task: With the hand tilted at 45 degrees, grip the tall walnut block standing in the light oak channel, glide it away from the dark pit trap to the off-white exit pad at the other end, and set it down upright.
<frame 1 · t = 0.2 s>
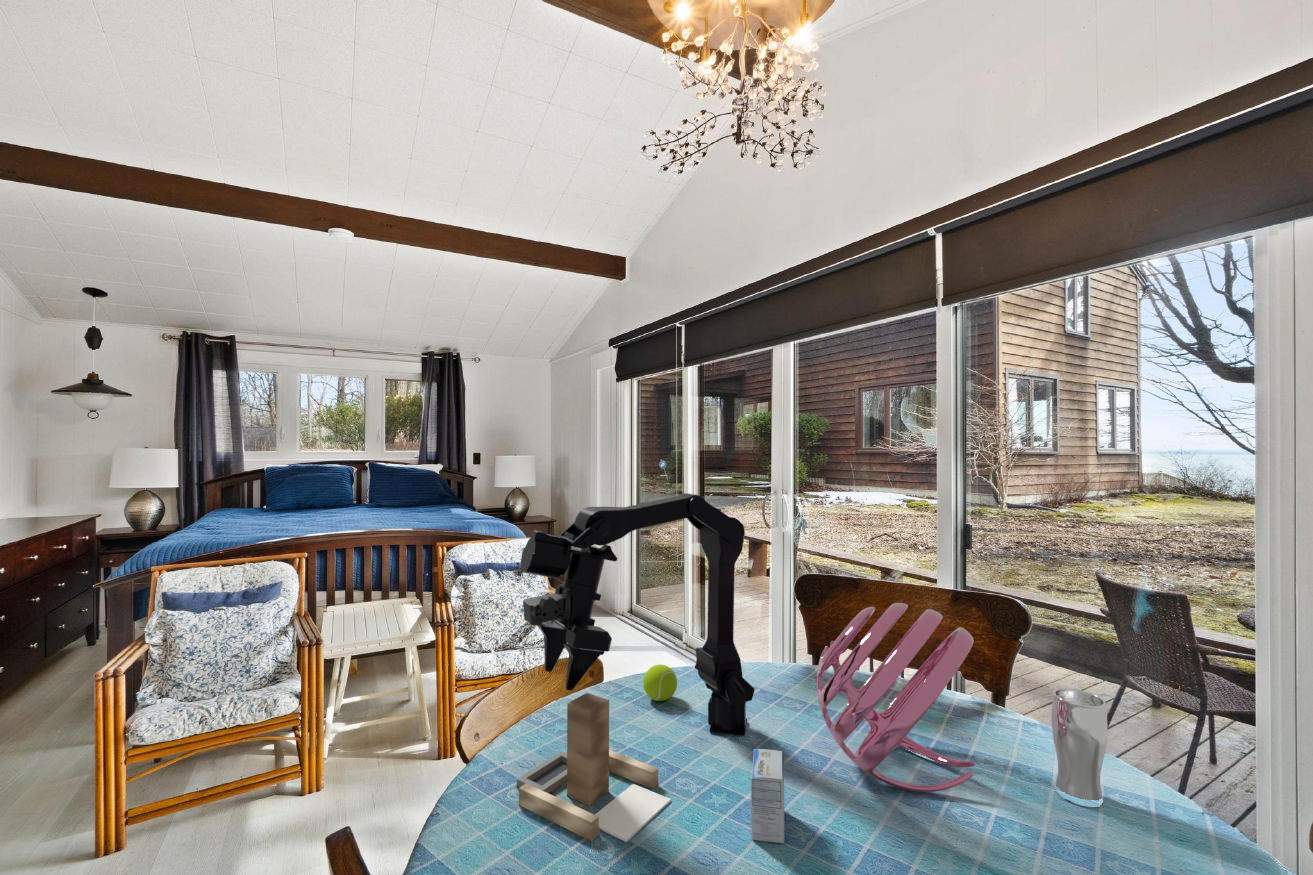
hand: (557, 680, 96), 15 cm above the table, tool tilted 15°, fingers open, 9 cm apart
medicine box: (767, 826, 84), on the table
tennis ball: (660, 700, 124), on the table
beer glass: (1078, 797, 91), on the table
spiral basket: (893, 766, 99), on the table
exit pad: (630, 811, 86), on the table
channel: (588, 793, 91), on the table
pit trap: (552, 777, 95), on the table
walnut block: (588, 793, 91), on the table
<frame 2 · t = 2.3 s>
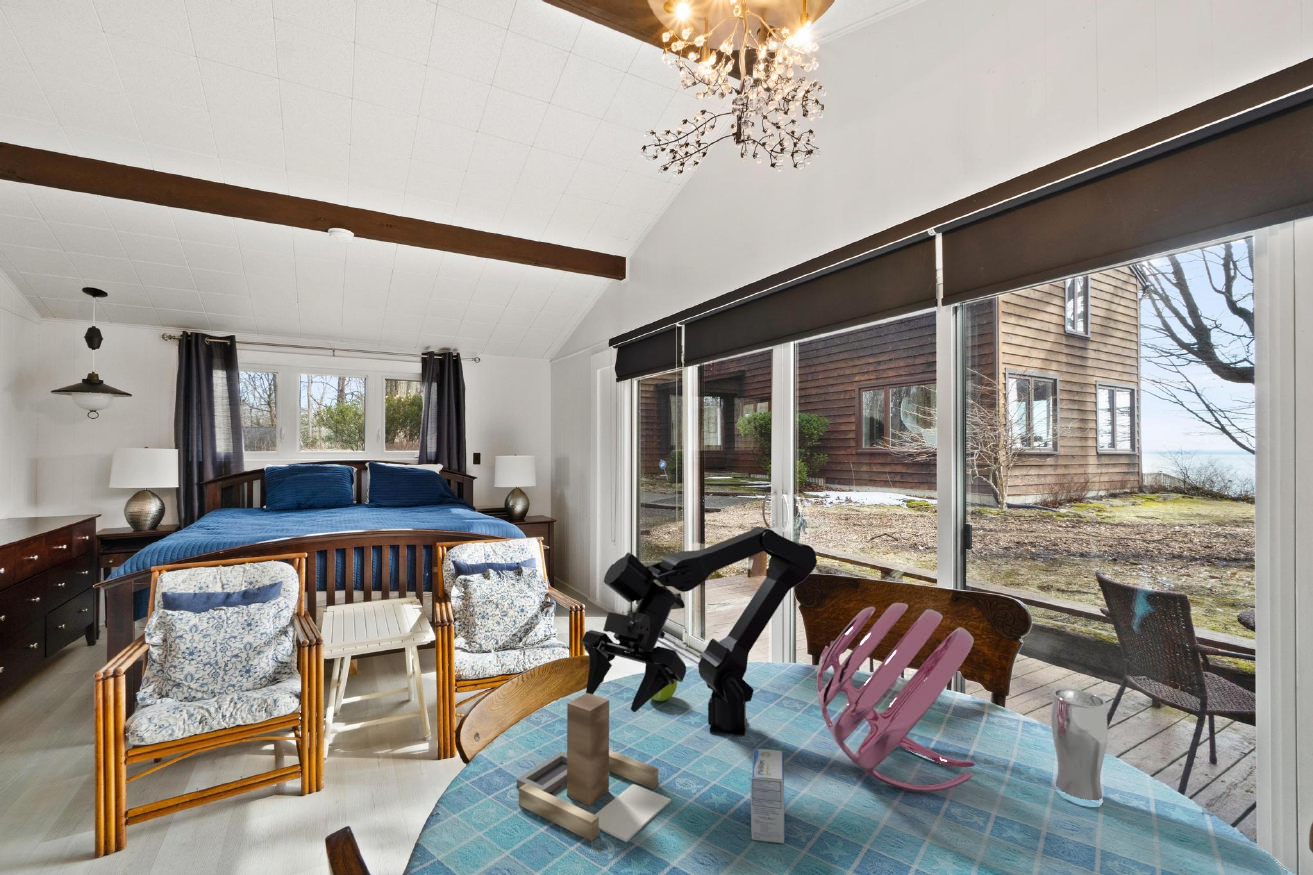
hand: (609, 703, 95), 12 cm above the table, tool tilted 45°, fingers open, 9 cm apart
nothing on the table moved.
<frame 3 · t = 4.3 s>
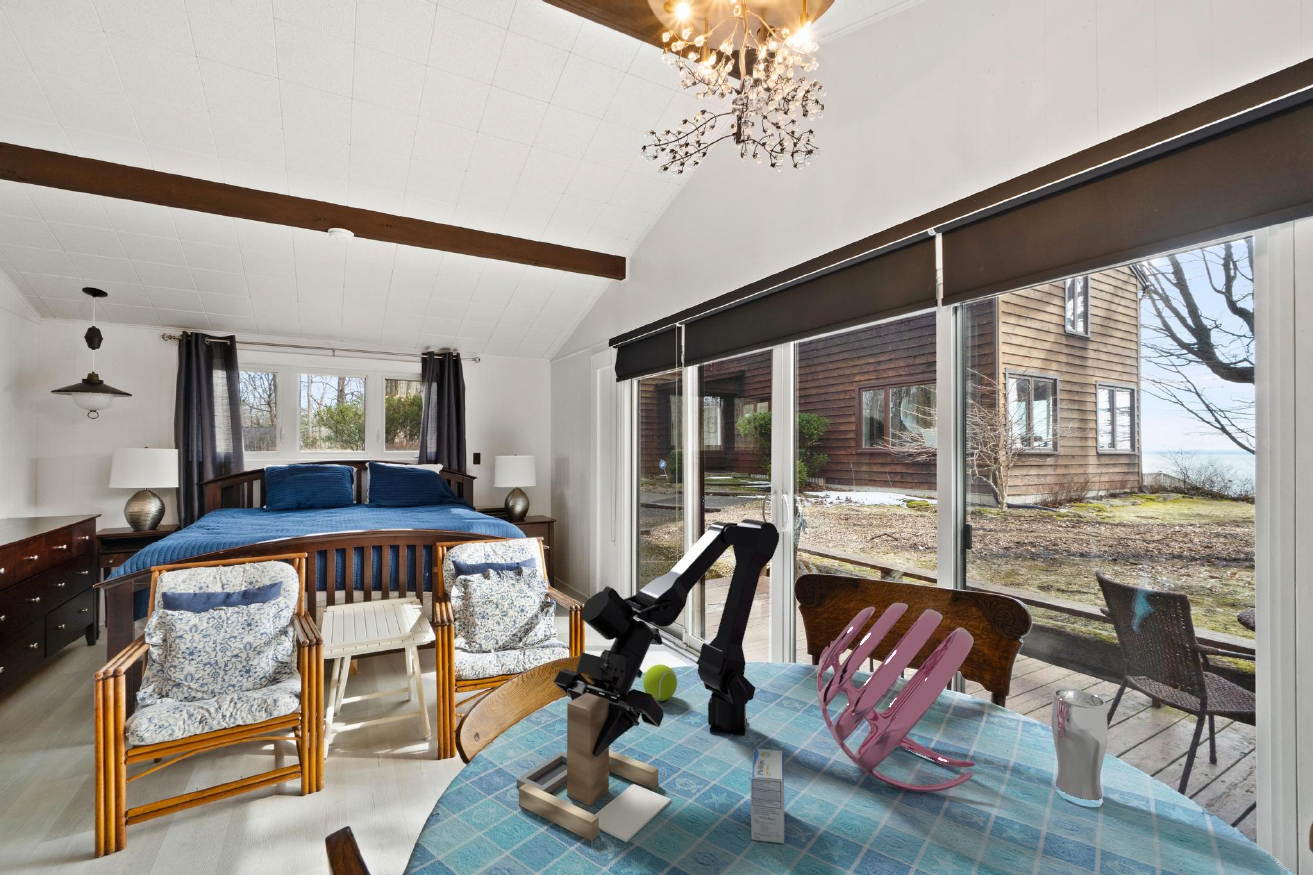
hand: (582, 750, 90), 7 cm above the table, tool tilted 45°, fingers closed on walnut block, 4 cm apart
walnut block: (588, 793, 91), on the table, touching gripper
everything else where it was.
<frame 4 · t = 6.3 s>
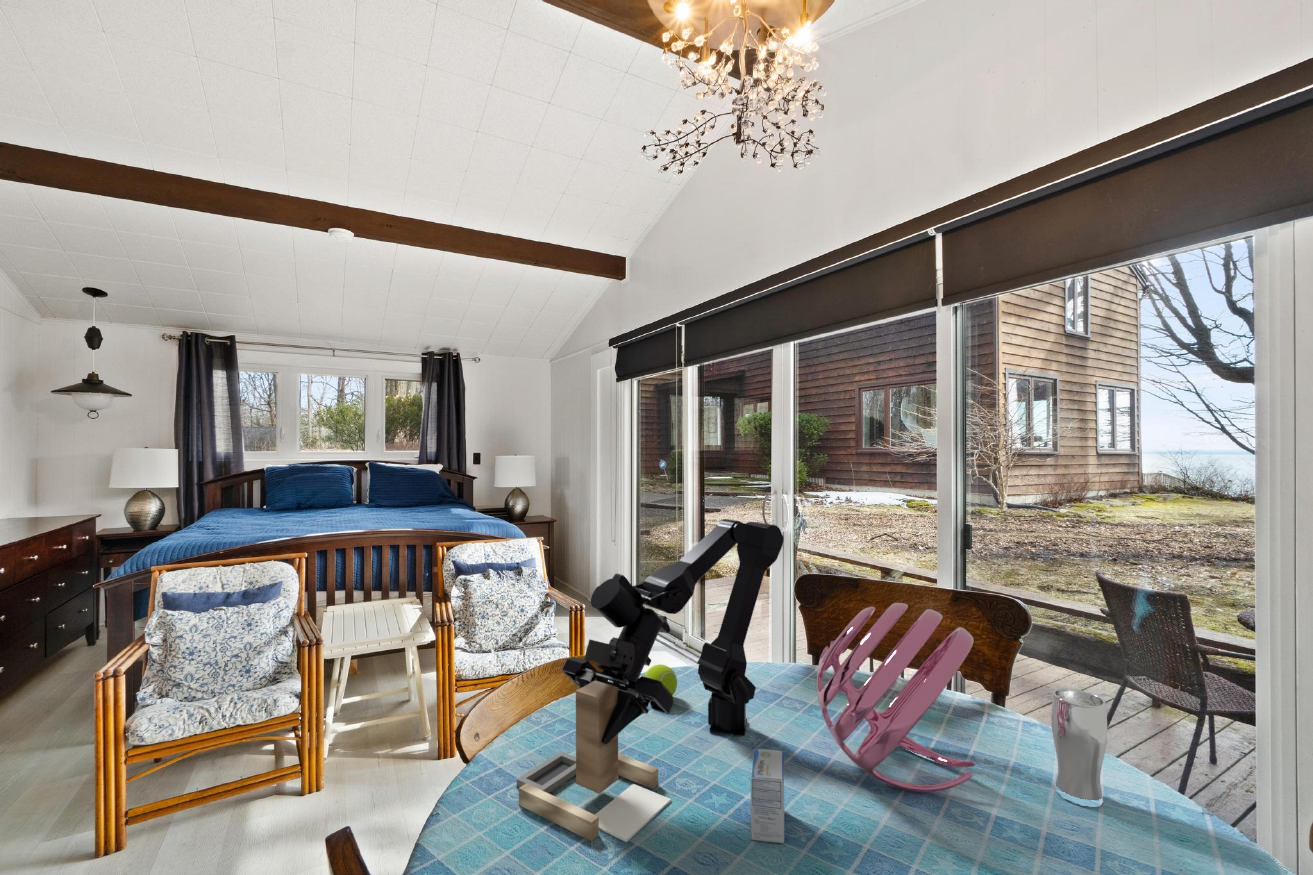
hand: (591, 738, 89), 9 cm above the table, tool tilted 45°, fingers closed on walnut block, 4 cm apart
walnut block: (597, 781, 90), point 2 cm above the table, touching gripper
everything else where it was.
when the fingers open (8 cm above the table, at t = 8.3 s): walnut block stays where it is, resting on exit pad.
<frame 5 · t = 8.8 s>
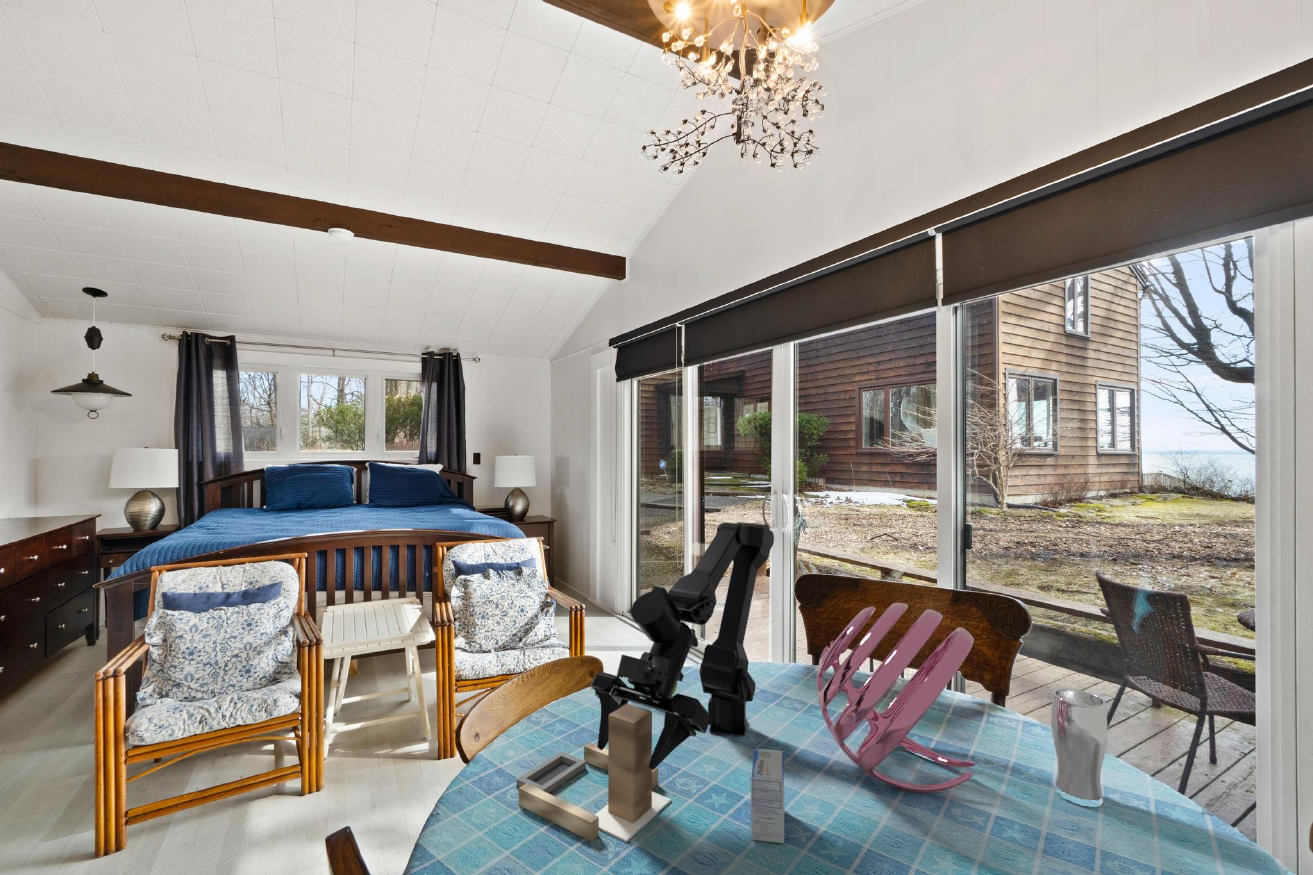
hand: (624, 758, 85), 8 cm above the table, tool tilted 45°, fingers open, 9 cm apart
walnut block: (630, 809, 87), resting on exit pad
everything else where it was.
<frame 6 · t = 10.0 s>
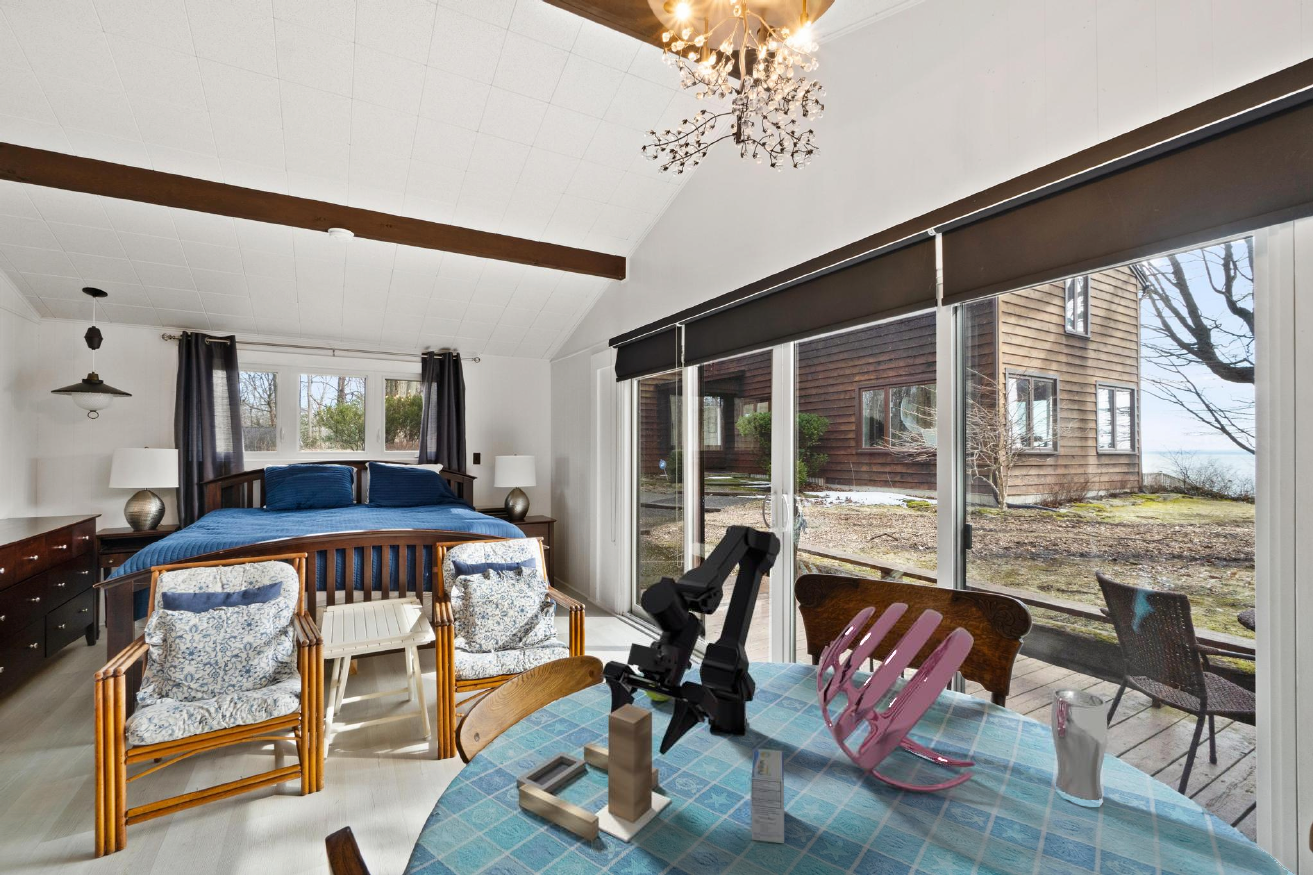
hand: (635, 744, 87), 9 cm above the table, tool tilted 45°, fingers open, 9 cm apart
nothing on the table moved.
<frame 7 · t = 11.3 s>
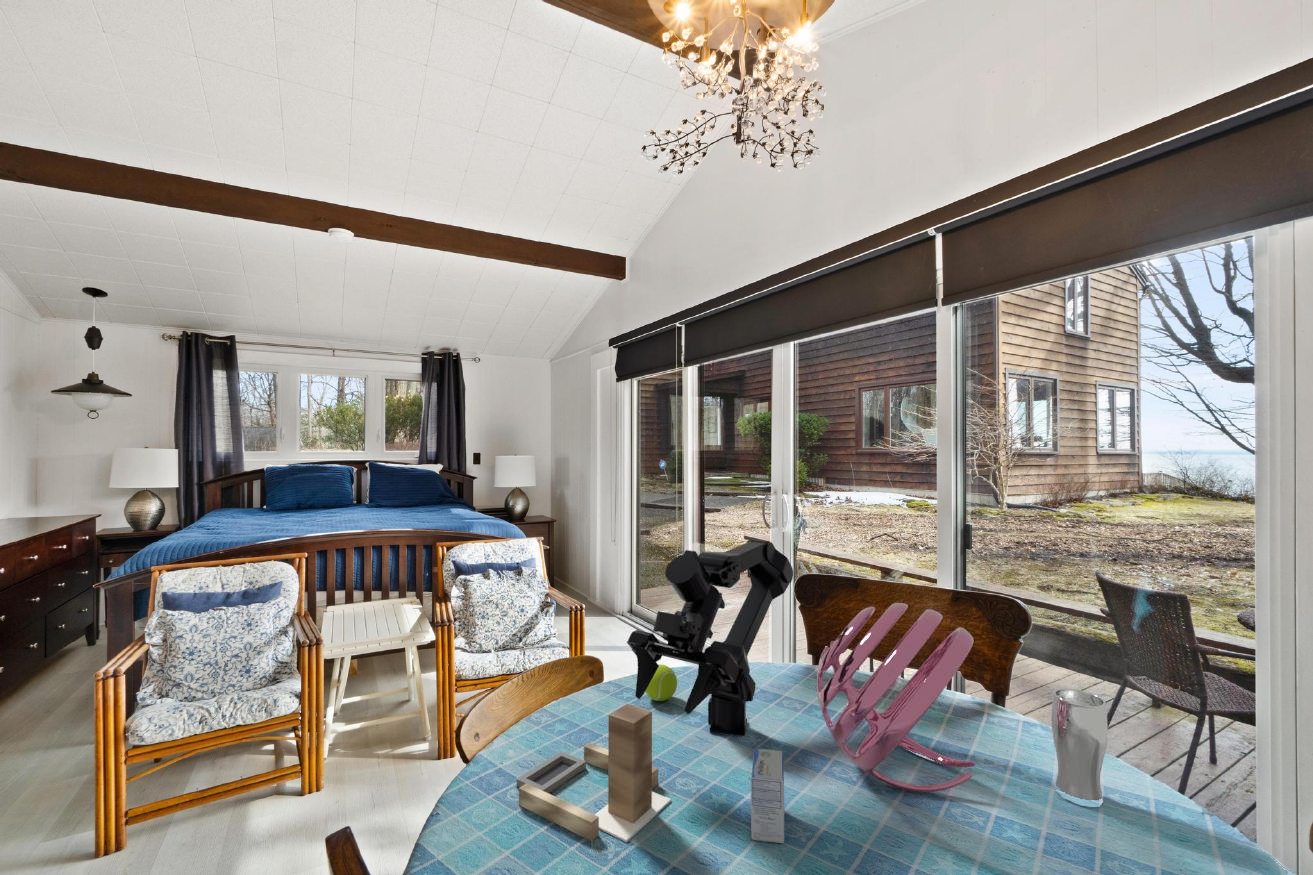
hand: (661, 705, 93), 13 cm above the table, tool tilted 45°, fingers open, 9 cm apart
nothing on the table moved.
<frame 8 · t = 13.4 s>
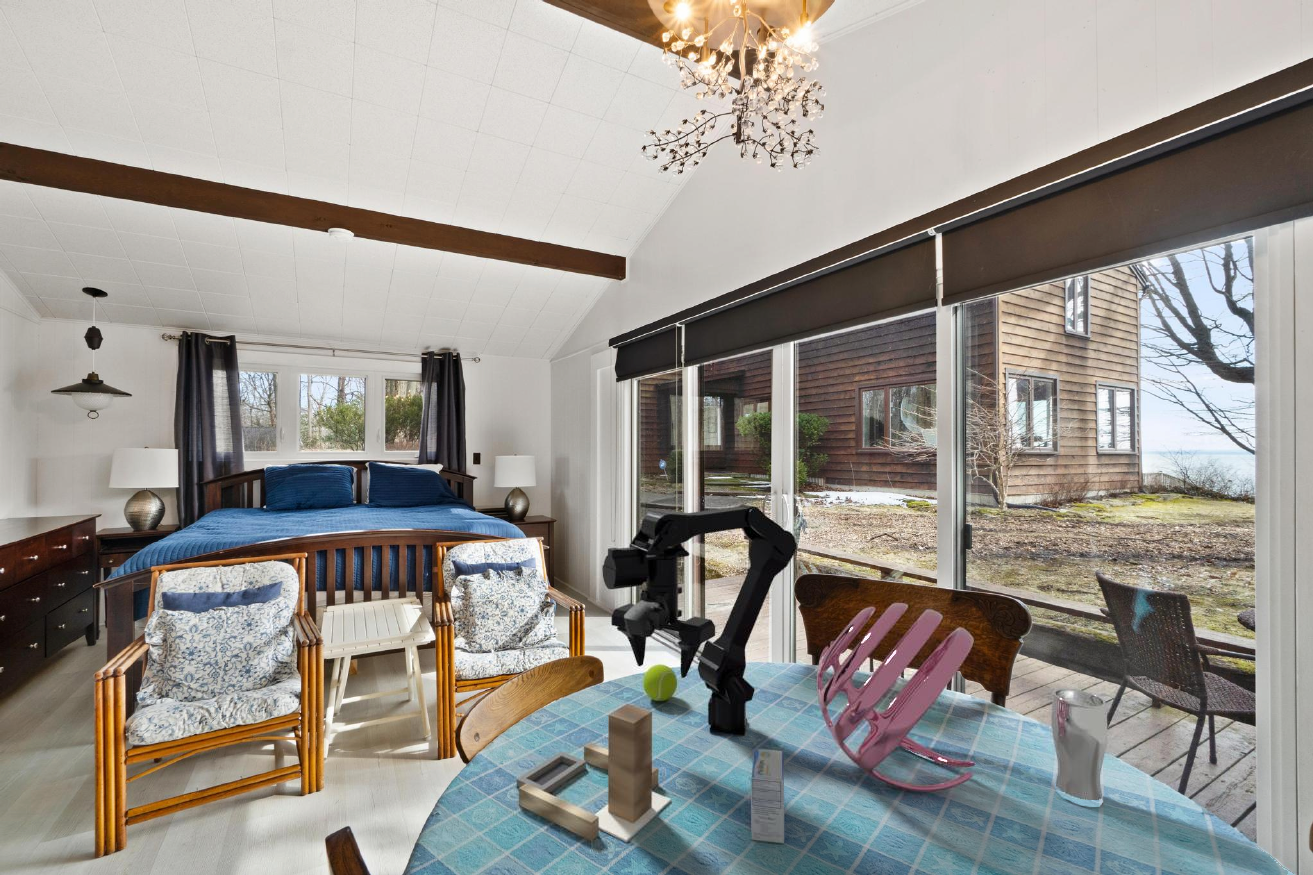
hand: (661, 671, 105), 13 cm above the table, tool pointing down, fingers open, 9 cm apart
nothing on the table moved.
at the end: walnut block 0.1 cm from the target spot, resting on exit pad; walnut block tilted 0°; the gripper is holding nothing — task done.
